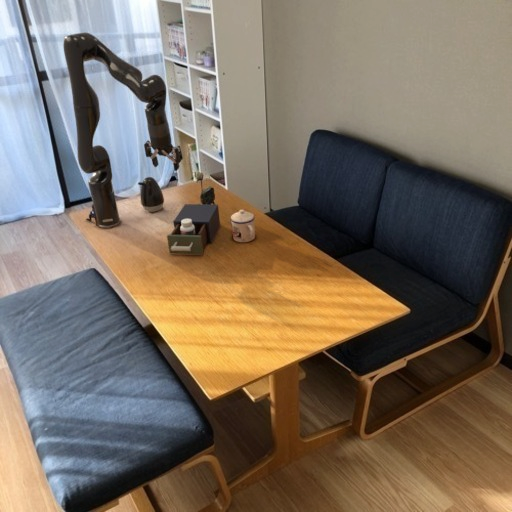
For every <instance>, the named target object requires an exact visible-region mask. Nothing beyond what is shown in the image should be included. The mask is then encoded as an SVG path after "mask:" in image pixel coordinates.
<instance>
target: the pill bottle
mask: <svg viewBox="0 0 512 512" xmlns="http://www.w3.org/2000/svg"><path fill="white" fill-rule="evenodd" d="M181 225H182V226H181V227H180V231H181V235H196V234H195V226H194V225H193V224H192V220H191V219H183V220H182V221H181Z"/></svg>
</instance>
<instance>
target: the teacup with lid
mask: <svg viewBox="0 0 512 512" xmlns="http://www.w3.org/2000/svg"><path fill="white" fill-rule="evenodd" d="M230 221H231V231H232V239H233V241H235V242H238V243H248V242H252V241H253V240H255V238H256V232H255V231H256V229H255V228H256V227H255V215H254V213H252V212H250V211H245V210H244V209H239V210H238V211H237V212H235V213H232V215H230Z"/></svg>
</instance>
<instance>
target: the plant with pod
mask: <svg viewBox="0 0 512 512" xmlns="http://www.w3.org/2000/svg"><path fill="white" fill-rule="evenodd" d="M195 178H196V183H199V182H200V186H201V191H200V193H199V194H200V195H199V199H200V204H212V205H216V203H215V200H216V194H215V188H214V186H210V185H208V186H206V187H204V188H203V180H204V173H203V172H200V171H198V172H197V173H196V177H195Z"/></svg>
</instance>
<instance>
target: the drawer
mask: <svg viewBox="0 0 512 512" xmlns="http://www.w3.org/2000/svg"><path fill="white" fill-rule="evenodd" d="M193 225H194V226H195V234H196V235H181V231H180V227H181V226H182V225H181V223H178V224H177V225H176V227H175V228H174V229H173V230H172V231H171V234H167V235H166V239H167V244H168V245H167V246H168V252H169V255H173V254H174V255H198V256H200V255H204V248H205V246H206V244H207V243H206V242H207V240H208V232H207V224H193Z"/></svg>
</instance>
